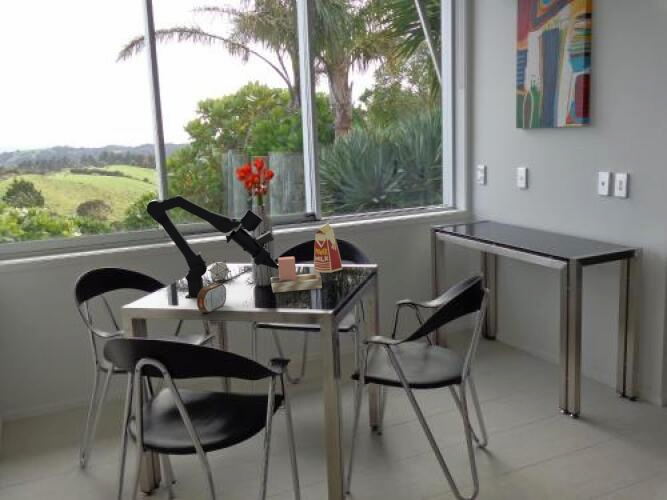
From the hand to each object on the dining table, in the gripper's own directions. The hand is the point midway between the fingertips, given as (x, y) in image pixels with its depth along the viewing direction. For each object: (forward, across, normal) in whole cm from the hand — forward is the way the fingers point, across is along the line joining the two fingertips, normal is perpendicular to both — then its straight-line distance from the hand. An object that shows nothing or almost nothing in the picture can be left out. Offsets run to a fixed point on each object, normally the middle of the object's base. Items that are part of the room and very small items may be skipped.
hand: (278, 267), depth 248 cm
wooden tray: (+10, 0, +1) cm, 10 cm away
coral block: (+7, 0, +2) cm, 7 cm away
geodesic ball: (-10, +25, +22) cm, 35 cm away
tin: (-11, -23, +22) cm, 34 cm away
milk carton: (+21, +25, -9) cm, 34 cm away
